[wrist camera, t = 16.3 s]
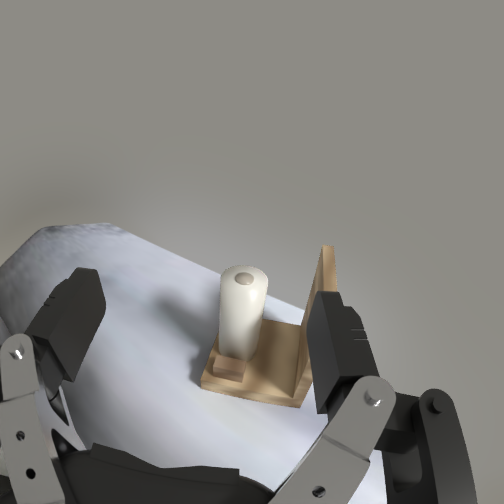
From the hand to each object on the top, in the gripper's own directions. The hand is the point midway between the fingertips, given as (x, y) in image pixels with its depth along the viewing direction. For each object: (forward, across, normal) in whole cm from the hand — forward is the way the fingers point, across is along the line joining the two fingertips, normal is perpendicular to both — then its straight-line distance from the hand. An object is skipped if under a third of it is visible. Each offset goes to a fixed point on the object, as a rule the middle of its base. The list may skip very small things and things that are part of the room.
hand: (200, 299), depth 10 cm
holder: (+20, -5, +30) cm, 36 cm away
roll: (+20, -2, +28) cm, 34 cm away
